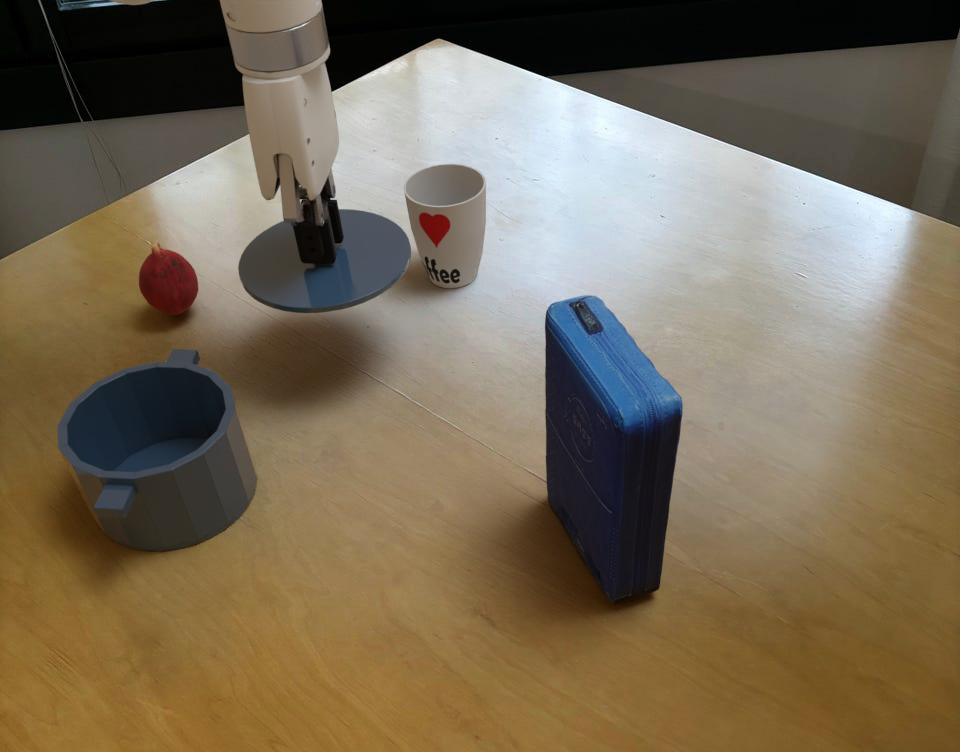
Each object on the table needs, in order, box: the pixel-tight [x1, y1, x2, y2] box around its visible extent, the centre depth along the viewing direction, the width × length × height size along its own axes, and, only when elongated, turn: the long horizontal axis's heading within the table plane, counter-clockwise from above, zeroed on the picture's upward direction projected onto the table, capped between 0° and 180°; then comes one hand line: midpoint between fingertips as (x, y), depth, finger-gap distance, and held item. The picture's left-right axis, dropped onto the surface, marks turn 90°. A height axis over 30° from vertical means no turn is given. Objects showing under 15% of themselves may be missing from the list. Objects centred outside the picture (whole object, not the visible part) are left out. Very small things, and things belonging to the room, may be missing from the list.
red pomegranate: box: [138, 242, 199, 316], centre depth 109 cm, size 6×6×8 cm
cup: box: [403, 163, 487, 289], centre depth 110 cm, size 8×8×10 cm
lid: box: [237, 198, 412, 314], centre depth 96 cm, size 16×16×6 cm
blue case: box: [544, 294, 684, 605], centre depth 80 cm, size 14×5×20 cm, turn 21°
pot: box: [57, 348, 258, 552], centre depth 92 cm, size 15×20×8 cm
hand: (322, 250), depth 97 cm, fingers closed on lid, 2 cm apart
